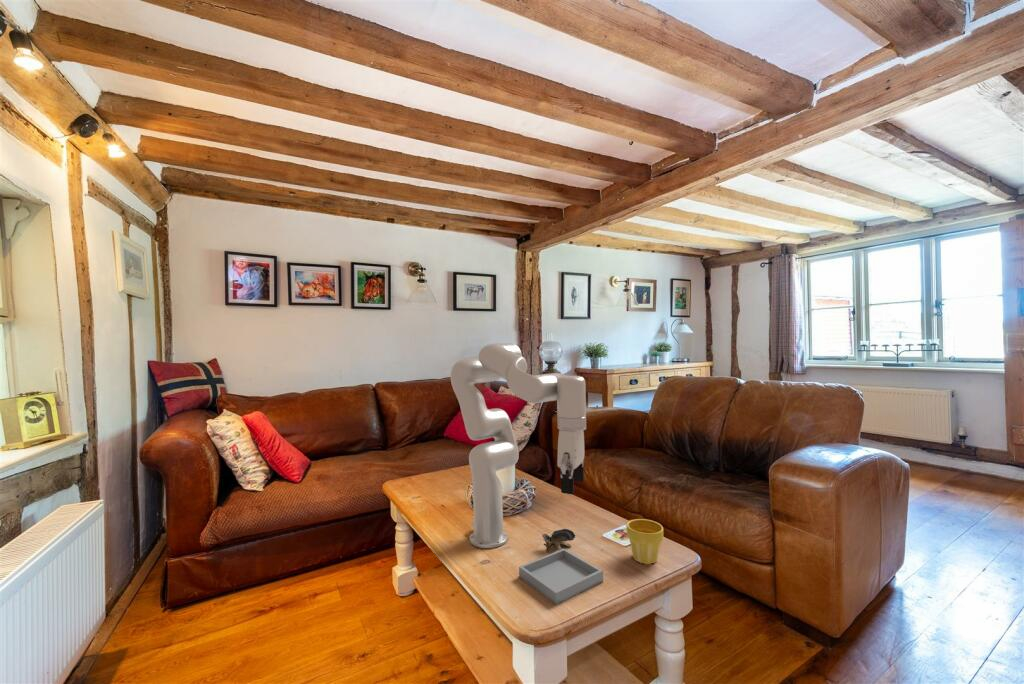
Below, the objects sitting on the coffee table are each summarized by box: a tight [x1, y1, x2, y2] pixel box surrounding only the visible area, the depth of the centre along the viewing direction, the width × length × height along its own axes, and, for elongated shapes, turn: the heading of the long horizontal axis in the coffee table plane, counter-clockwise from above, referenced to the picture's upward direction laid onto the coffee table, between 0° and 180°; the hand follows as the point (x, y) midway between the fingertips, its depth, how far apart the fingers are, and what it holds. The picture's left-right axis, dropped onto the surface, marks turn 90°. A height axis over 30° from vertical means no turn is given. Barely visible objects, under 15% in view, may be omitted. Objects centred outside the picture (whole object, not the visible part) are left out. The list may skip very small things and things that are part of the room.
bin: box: [518, 548, 604, 606], centre depth 119 cm, size 16×17×3 cm
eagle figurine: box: [541, 528, 576, 553], centre depth 135 cm, size 8×7×9 cm
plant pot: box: [626, 518, 664, 565], centre depth 128 cm, size 10×10×10 cm
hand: (572, 486), depth 115 cm, fingers open, 9 cm apart
